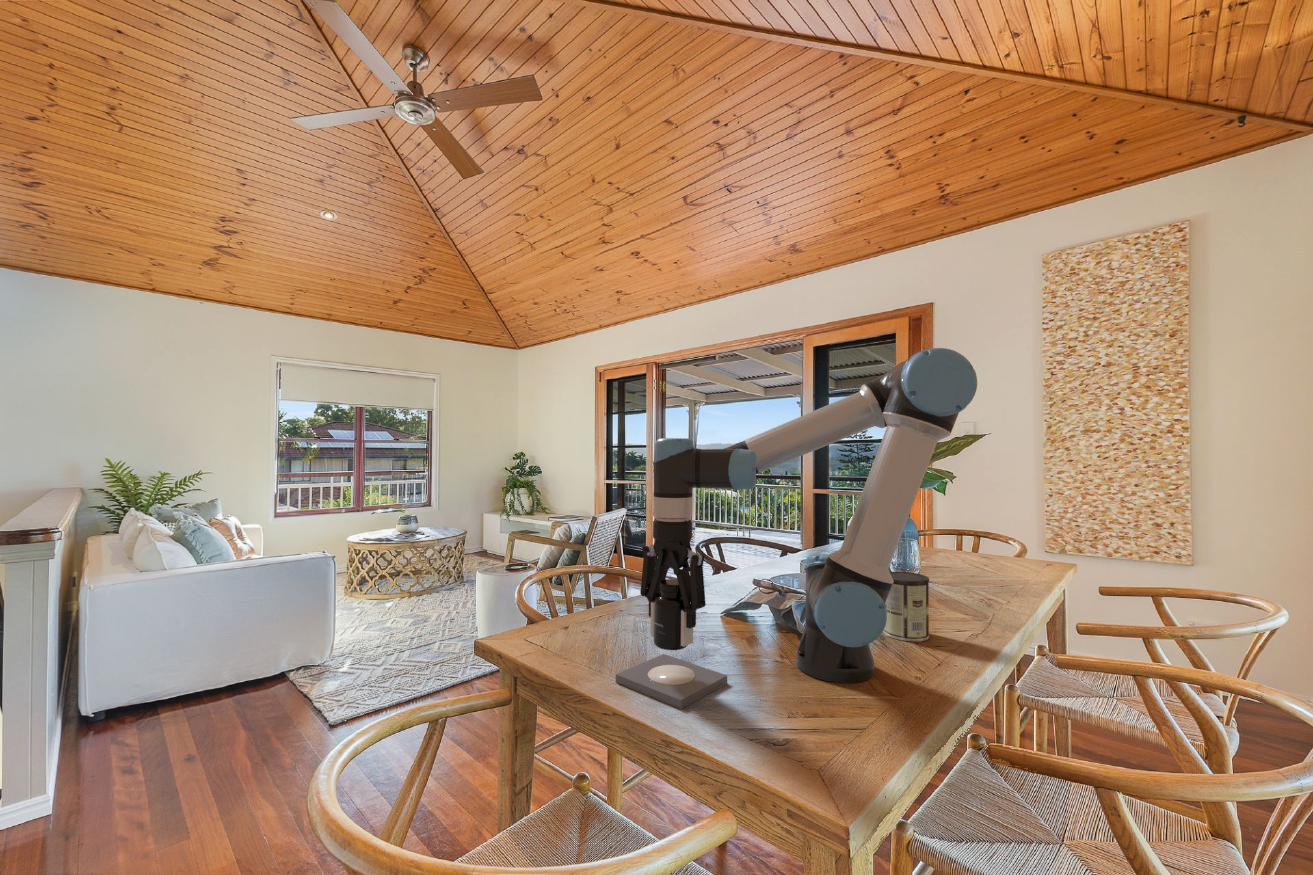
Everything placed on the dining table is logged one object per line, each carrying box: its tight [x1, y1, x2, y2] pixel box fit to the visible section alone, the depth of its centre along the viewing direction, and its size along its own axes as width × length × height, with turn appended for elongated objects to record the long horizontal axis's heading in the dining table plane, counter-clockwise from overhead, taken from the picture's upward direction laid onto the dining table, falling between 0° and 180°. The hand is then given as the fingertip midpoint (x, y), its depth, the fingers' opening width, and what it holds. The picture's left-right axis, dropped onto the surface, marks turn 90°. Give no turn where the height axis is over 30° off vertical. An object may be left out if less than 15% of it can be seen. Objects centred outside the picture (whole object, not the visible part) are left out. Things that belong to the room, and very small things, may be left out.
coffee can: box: [882, 571, 930, 643], centre depth 135 cm, size 10×10×14 cm
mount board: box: [615, 653, 728, 710], centre depth 107 cm, size 16×14×2 cm
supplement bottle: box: [653, 578, 689, 651], centre depth 107 cm, size 7×7×12 cm
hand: (671, 639), depth 107 cm, fingers closed on supplement bottle, 7 cm apart
